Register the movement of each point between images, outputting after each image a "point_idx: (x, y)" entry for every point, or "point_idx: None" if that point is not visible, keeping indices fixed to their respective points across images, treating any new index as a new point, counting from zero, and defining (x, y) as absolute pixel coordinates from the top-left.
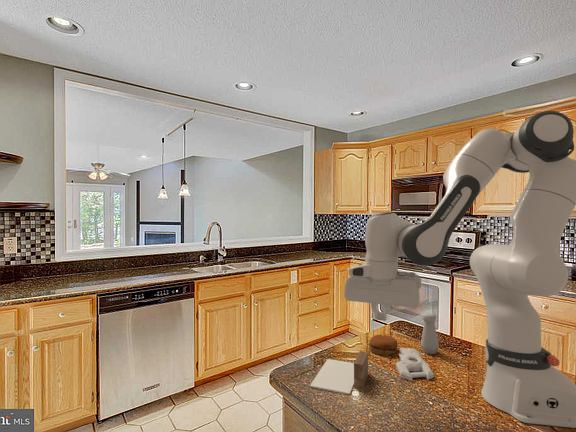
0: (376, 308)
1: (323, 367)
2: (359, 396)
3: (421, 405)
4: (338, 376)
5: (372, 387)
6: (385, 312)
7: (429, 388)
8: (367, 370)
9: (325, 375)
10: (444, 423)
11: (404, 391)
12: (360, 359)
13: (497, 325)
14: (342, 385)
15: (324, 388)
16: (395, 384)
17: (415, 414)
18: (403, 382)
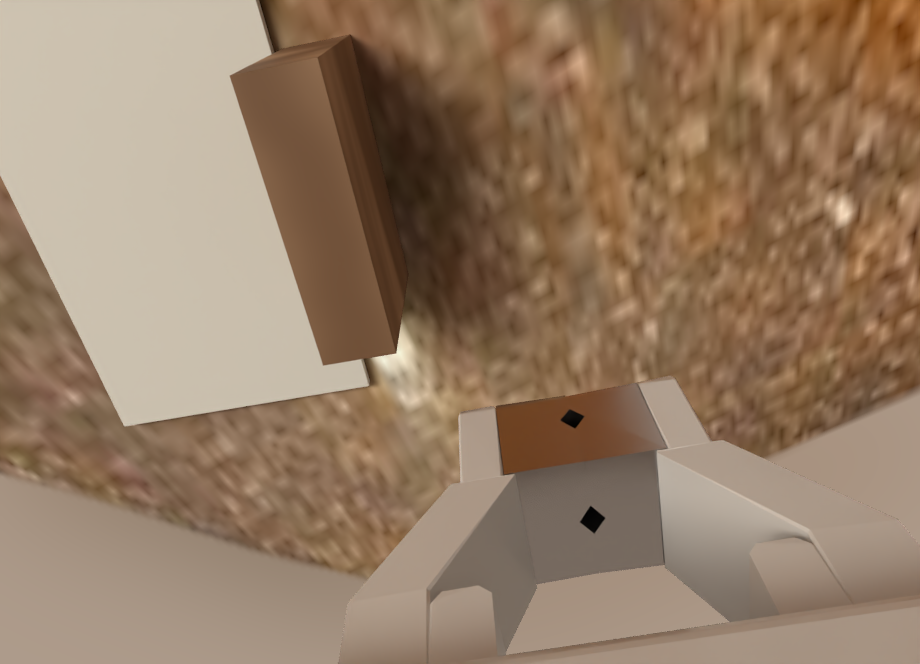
0: (475, 547)
1: (8, 164)
2: (426, 366)
3: (785, 272)
4: (193, 234)
5: (458, 228)
6: (723, 599)
7: (851, 11)
8: (352, 71)
9: (111, 270)
10: (898, 372)
11: (671, 163)
12: (334, 270)
13: None
14: (286, 330)
15: (214, 409)
16: (596, 95)
17: (752, 372)
18: (649, 25)
